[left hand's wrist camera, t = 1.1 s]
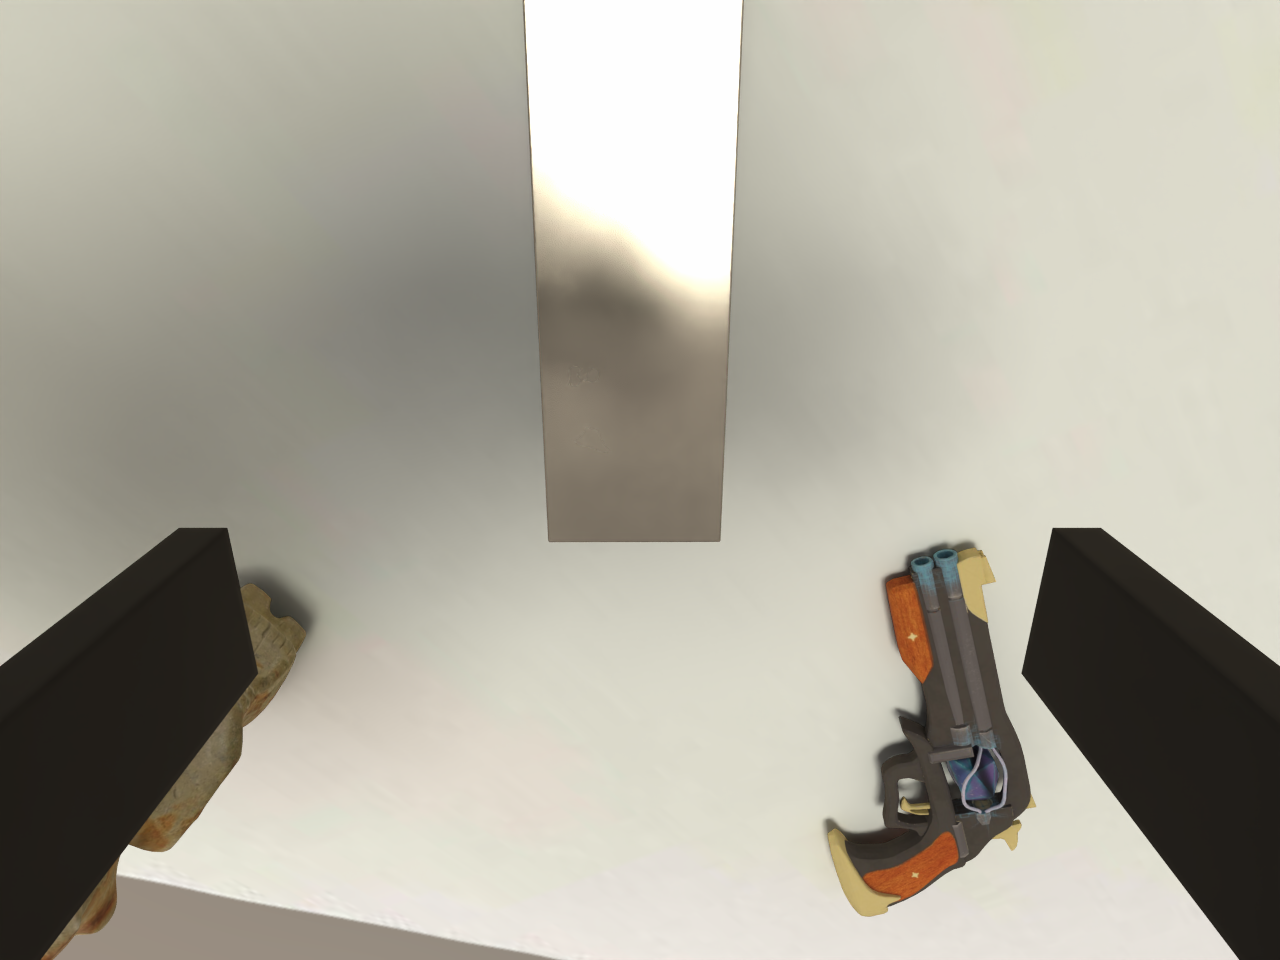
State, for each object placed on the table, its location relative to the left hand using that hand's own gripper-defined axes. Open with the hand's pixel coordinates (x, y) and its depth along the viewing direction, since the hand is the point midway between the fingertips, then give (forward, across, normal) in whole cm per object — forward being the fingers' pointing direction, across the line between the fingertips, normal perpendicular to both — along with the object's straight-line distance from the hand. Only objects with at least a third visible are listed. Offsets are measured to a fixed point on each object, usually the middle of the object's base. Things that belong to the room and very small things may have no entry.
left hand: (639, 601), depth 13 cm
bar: (+19, 0, -9) cm, 21 cm away
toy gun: (+20, -13, +19) cm, 30 cm away
